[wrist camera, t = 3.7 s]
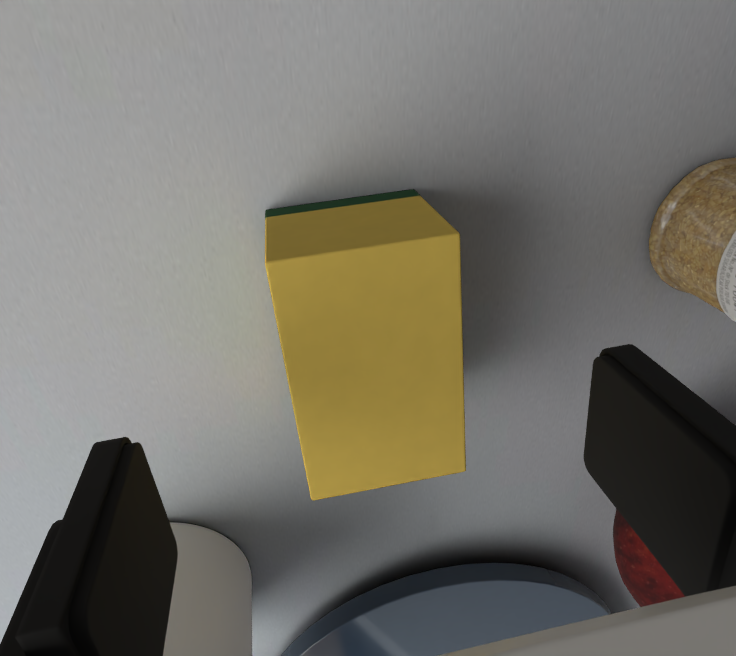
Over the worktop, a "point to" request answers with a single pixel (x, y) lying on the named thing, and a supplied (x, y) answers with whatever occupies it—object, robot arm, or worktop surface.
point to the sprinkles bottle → (699, 235)
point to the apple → (641, 567)
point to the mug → (209, 596)
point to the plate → (450, 612)
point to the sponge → (370, 338)
